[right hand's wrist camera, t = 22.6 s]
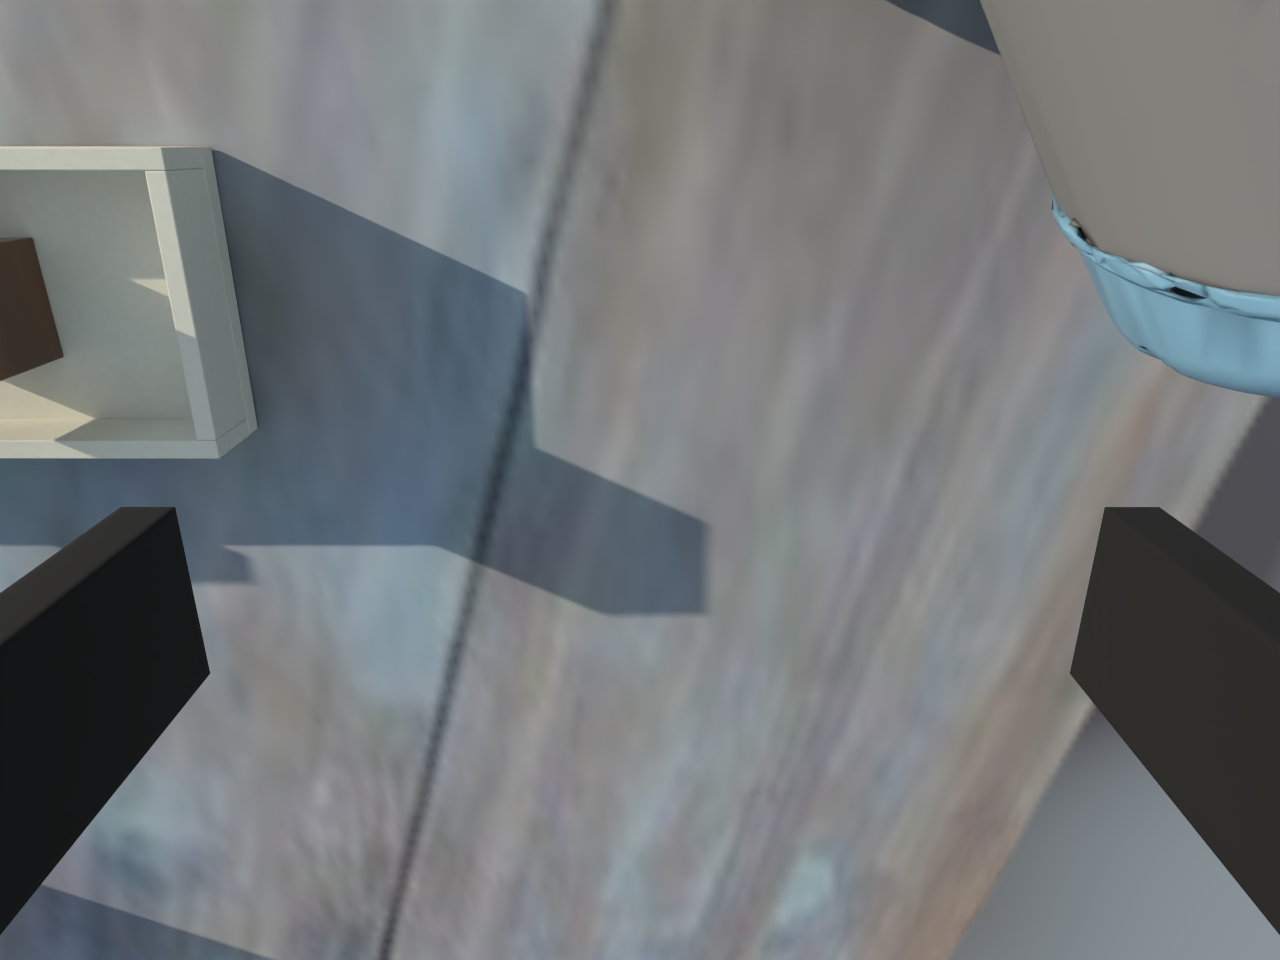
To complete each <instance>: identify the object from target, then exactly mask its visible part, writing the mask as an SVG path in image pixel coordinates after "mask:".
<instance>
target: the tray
mask: <svg viewBox="0 0 1280 960" xmlns="http://www.w3.org/2000/svg"><path fill="white" fill-rule="evenodd" d="M21 237H31V238H33V241H34V245H35V249H36V253H37V256H38V260H39V264H40V268H41V272H42V275H43V279H44V283H45V287H46V291H47V294H48V298H49V302H50V306H51V310H52V313H53V317H54V321H55V325H56V329H57V332H58V336H59V340H60V344H61V348H62V351H63V355H64V357H63V358H60V359H58V360H55V361H52V362H50V363H47V364H45V365H42V366H39V367H37V368H34V369H31V370H29V371H26V372H23V373H21V374H18V375H16V376H13V377H10V378H8V379H5V380H2V381H0V458H21V459H219V458H221V457H222V456H223V455H224V454H226V453H227V452H228V451H230V450H231V449H232V448H234V447H235V446H236V445H238V444H239V443H240V442H242V441H243V440H244V439H245V438H247V437H248V436H249V435H250V434H251V433H253V432H254V431H255V430H257V428H258V427H257V421H256V415H255V409H254V403H253V397H252V390H251V384H250V378H249V372H248V366H247V360H246V354H245V348H244V342H243V336H242V330H241V324H240V318H239V312H238V306H237V300H236V294H235V288H234V282H233V276H232V270H231V264H230V258H229V252H228V246H227V240H226V234H225V228H224V222H223V216H222V210H221V204H220V198H219V192H218V186H217V180H216V174H215V168H214V162H213V156H212V150H211V147H209V146H0V238H21Z"/></svg>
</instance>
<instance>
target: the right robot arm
mask: <svg viewBox="0 0 1280 960" xmlns="http://www.w3.org/2000/svg"><path fill="white" fill-rule="evenodd" d="M980 2H981V4H982V7H983V10H984V12H985V15H986V18H987V20H988V23H989V25H990V28H991V31H992V33H993V36H994V39H995V41H996V44H997V47H998V49H999V52H1000V55H1001V57H1002V60H1003V62H1004V65H1005V68H1006V70H1007V73H1008V76H1009V78H1010V81H1011V84H1012V86H1013V89H1014V92H1015V94H1016V97H1017V99H1018V102H1019V105H1020V107H1021V110H1022V113H1023V115H1024V118H1025V121H1026V123H1027V126H1028V129H1029V131H1030V134H1031V137H1032V139H1033V142H1034V144H1035V147H1036V150H1037V152H1038V155H1039V158H1040V160H1041V163H1042V166H1043V168H1044V171H1045V174H1046V176H1047V179H1048V181H1049V184H1050V187H1051V189H1052V193H1053V203H1052V211H1053V214H1054V217H1055V219H1056V222H1057V224H1058V226H1059V228H1060V230H1061V231H1062V233H1063V234H1064V235H1065V237H1066V238H1067V239H1068V241H1069V242H1070V243H1071V244H1072V245H1073V246H1074V247H1075V248H1077V249H1078V250H1079V251H1080V253H1081V255H1082V257H1083V259H1084V262H1085V264H1086V266H1087V268H1088V270H1089V273H1090V275H1091V277H1092V279H1093V281H1094V284H1095V286H1096V288H1097V290H1098V292H1099V295H1100V297H1101V299H1102V301H1103V303H1104V306H1105V308H1106V310H1107V312H1108V314H1109V316H1110V318H1111V319H1112V321H1113V323H1114V324H1115V326H1116V327H1117V328H1118V329H1119V331H1120V332H1121V333H1122V334H1123V336H1124V337H1125V338H1126V339H1127V340H1128V341H1129V342H1130V343H1131V344H1132V345H1133V346H1134V347H1136V348H1137V349H1138V350H1139V351H1141V352H1143V353H1146V354H1148V355H1150V356H1152V357H1154V358H1157V359H1160V360H1161V361H1162V362H1163V363H1165V364H1166V365H1167V366H1169V367H1171V368H1173V369H1174V370H1175V371H1176V372H1177V373H1180V374H1182V375H1184V376H1187V377H1189V378H1191V379H1195V380H1198V381H1201V382H1204V383H1207V384H1210V385H1214V386H1218V387H1222V388H1226V389H1231V390H1235V391H1240V392H1244V393H1250V394H1256V395H1262V396H1270V397H1278V398H1280V0H980ZM209 674H210V671H209V666H208V661H207V657H206V652H205V647H204V642H203V638H202V633H201V628H200V623H199V619H198V614H197V609H196V604H195V600H194V595H193V590H192V585H191V581H190V576H189V571H188V566H187V562H186V557H185V552H184V547H183V543H182V538H181V533H180V528H179V524H178V519H177V514H176V509H175V507H120V508H119V509H118V510H116V511H115V512H113V513H112V514H111V515H109V516H108V517H106V518H105V519H104V520H102V521H101V522H99V523H98V524H97V525H95V526H94V527H92V528H91V529H90V530H88V531H87V532H85V533H84V534H83V535H81V536H80V537H78V538H77V539H76V540H74V541H73V542H71V543H70V544H69V545H67V546H66V547H64V548H63V549H62V550H60V551H59V552H57V553H56V554H54V555H53V556H52V557H50V558H49V559H47V560H46V561H45V562H43V563H42V564H40V565H39V566H38V567H36V568H35V569H33V570H32V571H31V572H29V573H28V574H26V575H25V576H24V577H22V578H21V579H19V580H18V581H17V582H15V583H14V584H12V585H11V586H10V587H8V588H7V589H5V590H4V591H3V592H1V593H0V935H1V933H2V932H3V931H4V930H5V928H6V927H7V926H8V925H9V923H10V922H11V921H12V920H13V918H14V917H15V916H16V915H17V913H18V912H19V911H20V910H21V908H22V907H23V906H24V905H25V903H26V902H27V901H28V900H29V898H30V897H31V896H32V895H33V893H34V892H35V891H36V890H37V889H38V887H39V886H40V885H41V884H42V882H43V881H44V880H45V879H46V877H47V876H48V875H49V874H50V872H51V871H52V870H53V869H54V867H55V866H56V865H57V864H58V862H59V861H60V860H61V859H62V857H63V856H64V855H65V854H66V852H67V851H68V850H69V849H70V847H71V846H72V845H73V844H74V842H75V841H76V840H77V839H78V837H79V836H80V835H81V834H82V832H83V831H84V830H85V829H86V827H87V826H88V825H89V824H90V822H91V821H92V820H93V819H94V817H95V816H96V815H97V814H98V812H99V811H100V810H101V809H102V807H103V806H104V805H105V804H106V802H107V801H108V800H109V799H110V798H111V796H112V795H113V794H114V793H115V791H116V790H117V789H118V788H119V786H120V785H121V784H122V783H123V781H124V780H125V779H126V778H127V776H128V775H129V774H130V773H131V771H132V770H133V769H134V768H135V766H136V765H137V764H138V763H139V761H140V760H141V759H142V758H143V756H144V755H145V754H146V753H147V751H148V750H149V749H150V748H151V746H152V745H153V744H154V743H155V741H156V740H157V739H158V738H159V736H160V735H161V734H162V733H163V731H164V730H165V729H166V728H167V726H168V725H169V724H170V723H171V721H172V720H173V719H174V718H175V716H176V715H177V714H178V713H179V712H180V710H181V709H182V708H183V707H184V705H185V704H186V703H187V702H188V700H189V699H190V698H191V697H192V695H193V694H194V693H195V692H196V690H197V689H198V688H199V687H200V685H201V684H202V683H203V682H204V680H205V679H206V678H207V677H208V675H209ZM1070 674H1071V675H1072V677H1073V678H1074V679H1075V680H1076V682H1077V683H1078V684H1079V685H1080V687H1081V688H1082V689H1083V690H1084V692H1085V693H1086V694H1087V695H1088V697H1089V698H1090V699H1091V700H1092V702H1093V703H1094V704H1095V705H1096V707H1097V708H1098V709H1099V710H1100V711H1101V713H1102V714H1103V715H1104V716H1105V718H1106V719H1107V720H1108V721H1109V723H1110V724H1111V725H1112V726H1113V728H1114V729H1115V730H1116V731H1117V733H1118V734H1119V735H1120V736H1121V738H1122V739H1123V740H1124V741H1125V743H1126V744H1127V745H1128V746H1129V748H1130V749H1131V750H1132V751H1133V753H1134V754H1135V755H1136V756H1137V758H1138V759H1139V760H1140V761H1141V763H1142V764H1143V765H1144V766H1145V768H1146V769H1147V770H1148V771H1149V773H1150V774H1151V775H1152V776H1153V778H1154V779H1155V780H1156V781H1157V783H1158V784H1159V785H1160V786H1161V787H1162V789H1163V790H1164V791H1165V793H1166V794H1167V795H1168V796H1169V797H1170V799H1171V800H1172V801H1173V802H1174V804H1175V805H1176V806H1177V807H1178V809H1179V810H1180V811H1181V812H1182V814H1183V815H1184V816H1185V817H1186V819H1187V820H1188V821H1189V822H1190V824H1191V825H1192V826H1193V827H1194V829H1195V830H1196V831H1197V832H1198V834H1199V835H1200V836H1201V837H1202V839H1203V840H1204V841H1205V842H1206V844H1207V845H1208V846H1209V847H1210V849H1211V850H1212V851H1213V852H1214V854H1215V855H1216V856H1217V857H1218V859H1219V860H1220V861H1221V862H1222V863H1223V865H1224V866H1225V867H1226V869H1227V870H1228V871H1229V872H1230V874H1231V875H1232V876H1233V877H1234V878H1235V880H1236V881H1237V882H1238V884H1239V885H1240V886H1241V887H1242V888H1243V890H1244V891H1245V892H1246V893H1247V895H1248V896H1249V897H1250V898H1251V900H1252V901H1253V902H1254V903H1255V905H1256V906H1257V907H1258V908H1259V910H1260V911H1261V912H1262V913H1263V915H1264V916H1265V917H1266V918H1267V920H1268V921H1269V922H1270V923H1271V925H1272V926H1273V927H1274V928H1275V930H1276V931H1277V932H1278V933H1279V935H1280V593H1279V592H1277V591H1276V590H1275V589H1273V588H1272V587H1270V586H1269V585H1267V584H1266V583H1265V582H1263V581H1262V580H1261V579H1259V578H1258V577H1256V576H1255V575H1254V574H1252V573H1251V572H1249V571H1248V570H1247V569H1245V568H1244V567H1242V566H1241V565H1240V564H1238V563H1237V562H1235V561H1234V560H1233V559H1231V558H1230V557H1228V556H1227V555H1225V554H1224V553H1223V552H1221V551H1220V550H1218V549H1217V548H1216V547H1214V546H1213V545H1211V544H1210V543H1209V542H1207V541H1206V540H1204V539H1203V538H1202V537H1200V536H1199V535H1197V534H1196V533H1195V532H1193V531H1192V530H1190V529H1189V528H1188V527H1186V526H1185V525H1183V524H1182V523H1181V522H1179V521H1178V520H1176V519H1175V518H1174V517H1172V516H1171V515H1169V514H1168V513H1167V512H1165V511H1164V510H1162V509H1161V508H1160V507H1105V509H1104V514H1103V519H1102V524H1101V528H1100V533H1099V538H1098V543H1097V547H1096V552H1095V557H1094V562H1093V566H1092V571H1091V576H1090V581H1089V585H1088V590H1087V595H1086V600H1085V604H1084V609H1083V614H1082V619H1081V623H1080V628H1079V633H1078V638H1077V642H1076V647H1075V652H1074V657H1073V661H1072V666H1071V671H1070Z"/></svg>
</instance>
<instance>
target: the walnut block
mask: <svg viewBox="0 0 1280 960" xmlns="http://www.w3.org/2000/svg"><path fill="white" fill-rule="evenodd" d="M63 357H64V355H63V351H62V348H61V344H60V340H59V336H58V332H57V329H56V325H55V321H54V317H53V313H52V310H51V306H50V302H49V298H48V294H47V291H46V287H45V283H44V279H43V275H42V272H41V268H40V264H39V260H38V256H37V253H36V249H35V245H34V241H33V238H31V237H21V238H0V381H2V380H5V379H8V378H10V377H13V376H16V375H18V374H21V373H23V372H26V371H29V370H31V369H34V368H37V367H39V366H42V365H45V364H47V363H50V362H52V361H55V360H58V359H60V358H63Z"/></svg>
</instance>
